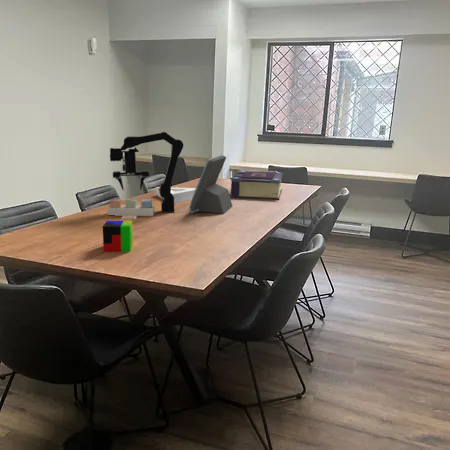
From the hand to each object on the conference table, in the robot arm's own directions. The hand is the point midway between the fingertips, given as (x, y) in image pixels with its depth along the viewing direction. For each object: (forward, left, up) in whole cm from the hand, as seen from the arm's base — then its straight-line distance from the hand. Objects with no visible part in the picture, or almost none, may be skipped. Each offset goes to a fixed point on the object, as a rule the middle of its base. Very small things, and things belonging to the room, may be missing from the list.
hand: (131, 190), depth 250 cm
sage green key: (0, +7, -9) cm, 11 cm away
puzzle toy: (-3, +72, -12) cm, 73 cm away
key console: (0, +7, -12) cm, 14 cm away
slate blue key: (-8, +7, -9) cm, 14 cm away
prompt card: (0, +15, -12) cm, 19 cm away
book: (-78, -68, -12) cm, 104 cm away
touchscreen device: (-43, -10, -12) cm, 46 cm away
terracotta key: (+8, +7, -9) cm, 14 cm away
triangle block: (-19, -45, -13) cm, 51 cm away
